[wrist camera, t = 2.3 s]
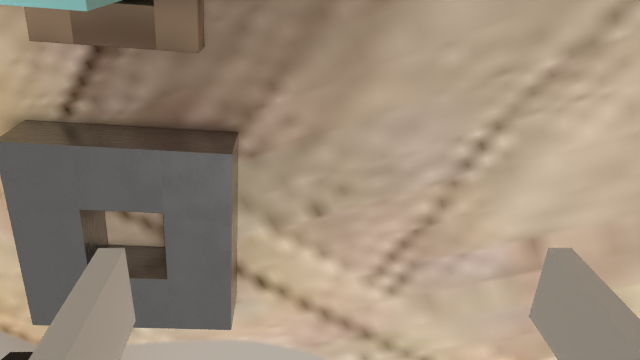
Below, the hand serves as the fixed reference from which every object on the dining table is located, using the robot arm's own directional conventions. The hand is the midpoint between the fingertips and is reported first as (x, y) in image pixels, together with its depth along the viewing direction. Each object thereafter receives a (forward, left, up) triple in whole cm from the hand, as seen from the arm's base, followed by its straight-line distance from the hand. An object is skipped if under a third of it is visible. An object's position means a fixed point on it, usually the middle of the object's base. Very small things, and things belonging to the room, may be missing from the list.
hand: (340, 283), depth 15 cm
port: (+12, -13, -24) cm, 30 cm away
